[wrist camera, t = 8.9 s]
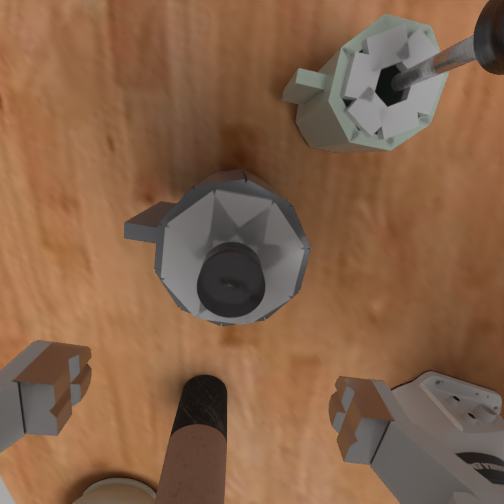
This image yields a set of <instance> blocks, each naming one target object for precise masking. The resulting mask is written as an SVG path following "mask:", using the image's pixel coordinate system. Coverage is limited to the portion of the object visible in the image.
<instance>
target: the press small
mask: <svg viewBox="0 0 504 504" xmlns="http://www.w3.org/2000/svg"><path fill="white" fill-rule="evenodd" d="M440 52H441V51H440V48H439V46H438V43H437V40H436V38H435V35H434V32H433V29H432V27H431V26H429V25H426V24H422V23H418V22H414V21H411V20H407V19H403V18H399V17H395V16H392V15H388V14H384V15H383V16H382V17H380V18H379V19H378V20H376V21H375V22H374V23H372V24H371V25H370V26H369V27H367V28H366V29H365V30H363V31H362V32H361V33H359V34H358V35H357V36H355V37H354V38H353V39H351V40H350V41H349V42H347V43H346V44H345V45H343V46H342V47H341V48H340V49H339V50H338V51H337V52H336V53H335V54H334V55H333V57H332V58H331V59H330V60H329V61H328V62H327V63H326V64H325V65H324V66H323V67H322V68H321V69H320V70H319V71H318V72H314V71H309V70H305V69H301V68H298V69H297V71H296V72H295V74H294V75H293V77H292V78H291V80H290V81H289V83H288V84H287V85H286V87H285V88H284V91H283V96H282V101H285V102H290V103H294V104H298V108H297V115H296V120H295V122H296V124H297V126H298V128H299V131H300V133H301V135H302V136H303V138H304V139H305V140H306V141H307V143H308V145H309V147H310V148H315V149H320V150H325V151H330V152H335V153H349V152H374V151H391V150H393V149H394V148H396V147H397V146H399V145H400V144H402V143H403V142H405V141H406V140H408V139H409V138H411V137H412V136H414V135H415V134H417V133H418V132H420V131H421V130H422V129H424V128H425V127H427V126H428V125H430V124H431V122H432V119H433V116H434V113H435V110H436V108H437V105H438V102H439V99H440V96H441V94H442V91H443V88H444V85H445V82H446V80H447V77H448V74H449V73H448V71H447V72H444V73H442V74H439V75H437V76H434V77H432V78H430V79H427V80H425V81H422V82H420V83H417V84H415V85H412V86H410V87H408V88H405V89H403V90H400V91H394V90H393V89H392V87H391V81H392V78H393V77H394V76H395V75H397V74H399V73H401V72H403V71H405V70H407V69H409V68H410V67H412V66H414V65H416V64H418V63H420V62H422V61H424V60H426V59H428V58H430V57H432V56H434V55H436V54H438V53H440Z"/></svg>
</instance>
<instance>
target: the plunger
mask: <svg viewBox="0 0 504 504" xmlns="http://www.w3.org/2000/svg"><path fill="white" fill-rule="evenodd" d="M197 294H198V297H199V299H200V301H201V303H202V304H203V306H204V307H205V308H206V309H207V310H209V311H210V312H212V313H213V314H215V315H218V316H221V317H225V318H237V317H241V316H244V315H247V314H249V313H251V312H252V311H253V310H255V309H256V308H257V307H258V306H259V304H260V303H261V301H262V300H263V297H264V294H265V279H264V274H263V270H262V265H261V262H260V259H259V257H258V255H257V254H256V253H255V251H254V250H252V249H251V248H250V247H248V246H247V245H245V244H242V243H238V242H226V243H222V244H219V245H217V246H215V247H214V248H213V249H211V250H210V251H209V252H208V254H207V255H206V257H205V259H204V261H203V264H202V267H201V270H200V273H199V276H198V280H197Z"/></svg>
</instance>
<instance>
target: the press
mask: <svg viewBox="0 0 504 504" xmlns="http://www.w3.org/2000/svg"><path fill="white" fill-rule="evenodd" d="M124 238H126V239H132V240H139V241H145V242H151V243H156V253H155V267H154V269H156V271H155V272H156V274H157V275H158V277H159V278H160V280H161V281H162V283H163V284H164V286H165V288H166V289H167V291H168V292H169V294H170V295H171V297H172V298H173V300H174V301H175V303H176V304H177V306H178V307H181V306H182V307H181V310H184V311H186V312H188V313H191V314H192V315H193V316H194V317H196V316H198V319H203V320H207V321H210V322H212V323H214V324H217V325H219V326H220V325H221V323H222V326H228V325H235V324H241V325H247V323H249V324H251V323H253V322H256V321H263V320H264V317H265V318H266V319H267V318H269V317H270V316H271V315H272V314H273V313H275V312H276V311H277V310H278V309H279V308H281V307H282V306H283V305H284V304H285V303H287V302H288V301H289V300H290V299H291V298H292V297H294V296H295V295H296V294H297V293H298V290H300V288H301V284H302V281H303V277H304V273H305V269H306V265H307V262H308V258H309V254H310V250H311V249H310V245H309V242H308V240H307V238H306V235H305V233H304V231H303V228H302V226H301V224H300V221H299V219H298V217H297V214H296V212H295V210H294V207H293V205H292V204H291V203H290V202H289V201H288V200H287V199H285V198H284V197H283V196H282V195H281V194H280V193H279V192H277V191H276V190H275V189H274V188H273V187H272V186H271V185H269V184H268V183H267V182H266V181H264V180H262V179H261V178H259V177H257V176H255V175H254V174H252V173H250V172H248V171H246V170H245V169H243V170H242V168H240V169H233V170H226V171H219V172H215V173H213V174H212V175H210V176H209V177H207V178H206V179H204V180H203V181H201V182H200V183H198V184H197V185H195V186H194V187H192V188H191V189H190V190H189V191H188V192H187V193H186V194H185V196H184V197H183V198H182V199H181V200H180V201H179V202H178V203H177V204H175V203H169V202H163V201H161V202H159V203H157V204H155V205H154V206H152V207H150V208H149V209H147V210H145V211H143V212H142V213H140V214H138V215H136V216H135V217H133V218H131V219H130V220H128V221H126V222H125V223H124ZM226 242H238V243H242V244H245V245H247V246H248V247H250V248H251V249H252V250H254V251H255V253H256V254H257V255H258V257H259V259H260V262H261V265H262V270H263V274H264V279H265V294H264V297H263V300H262V301H261V303H260V304H259V306H258V307H257V308H256V309H255V310H253V311H252V312H251V313H249V314H247V315H244V316H241V317H237V318H225V317H221V316H218V315H215V314H213V313H212V312H210V311H209V310H207V309H206V308H205V307H204V306H203V304H202V303H201V301H200V299H199V297H198V294H197V280H198V276H199V273H200V270H201V267H202V264H203V261H204V259H205V257H206V255H207V254H208V252H209V251H210V250H211V249H213V248H214V247H215V246H217V245H219V244H222V243H226Z"/></svg>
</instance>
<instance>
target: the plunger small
mask: <svg viewBox="0 0 504 504" xmlns="http://www.w3.org/2000/svg"><path fill="white" fill-rule="evenodd" d="M476 59H477V61H478V62H479V64H480V65H481V66H482V68H484V69H485V70H486V71H488V72H490V73H492V74H497V75H504V0H489V1H488V2H487V4H486V5H485V7H484V8H483V10H482V12H481V14H480V16H479V18H478V20H477V23H476V26H475V31H474V35H472V36H470V37H469V38H467V39H465V40H463V41H461V42H459V43H457V44H455V45H453V46H451V47H449V48H447V49H445V50H443V51H441V52H440V53H438V54H436V55H434V56H432V57H430V58H428V59H426V60H424V61H422V62H420V63H418V64H416V65H414V66H412V67H410V68H409V69H407V70H405V71H403V72H401V73H399V74H397V75H395V76H394V77H393V78H392V81H391V87H392V89H393V90H394V91H400V90H403V89H405V88H408V87H410V86H412V85H415V84H417V83H420V82H422V81H425V80H427V79H430V78H432V77H434V76H437V75H439V74H442V73H444V72H447V71H449V70H452V69H454V68H457V67H459V66H461V65H464V64H466V63H469V62H471V61H474V60H476Z"/></svg>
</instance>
